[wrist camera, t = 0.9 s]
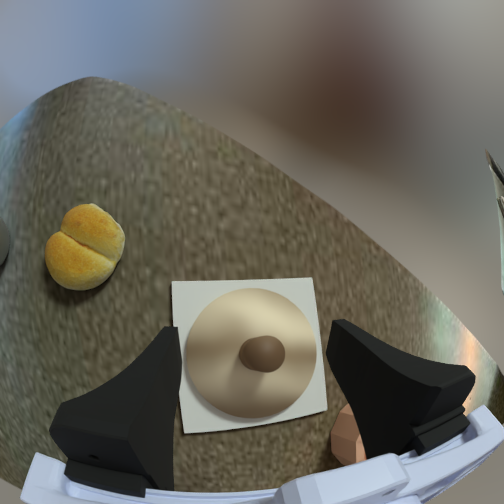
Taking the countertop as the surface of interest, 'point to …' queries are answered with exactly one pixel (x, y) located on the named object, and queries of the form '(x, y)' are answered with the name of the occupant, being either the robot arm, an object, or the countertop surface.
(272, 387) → the lid
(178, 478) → the countertop surface
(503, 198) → the washcloth
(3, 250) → the plastic bottle
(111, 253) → the bread roll
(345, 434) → the bowl
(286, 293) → the mat
